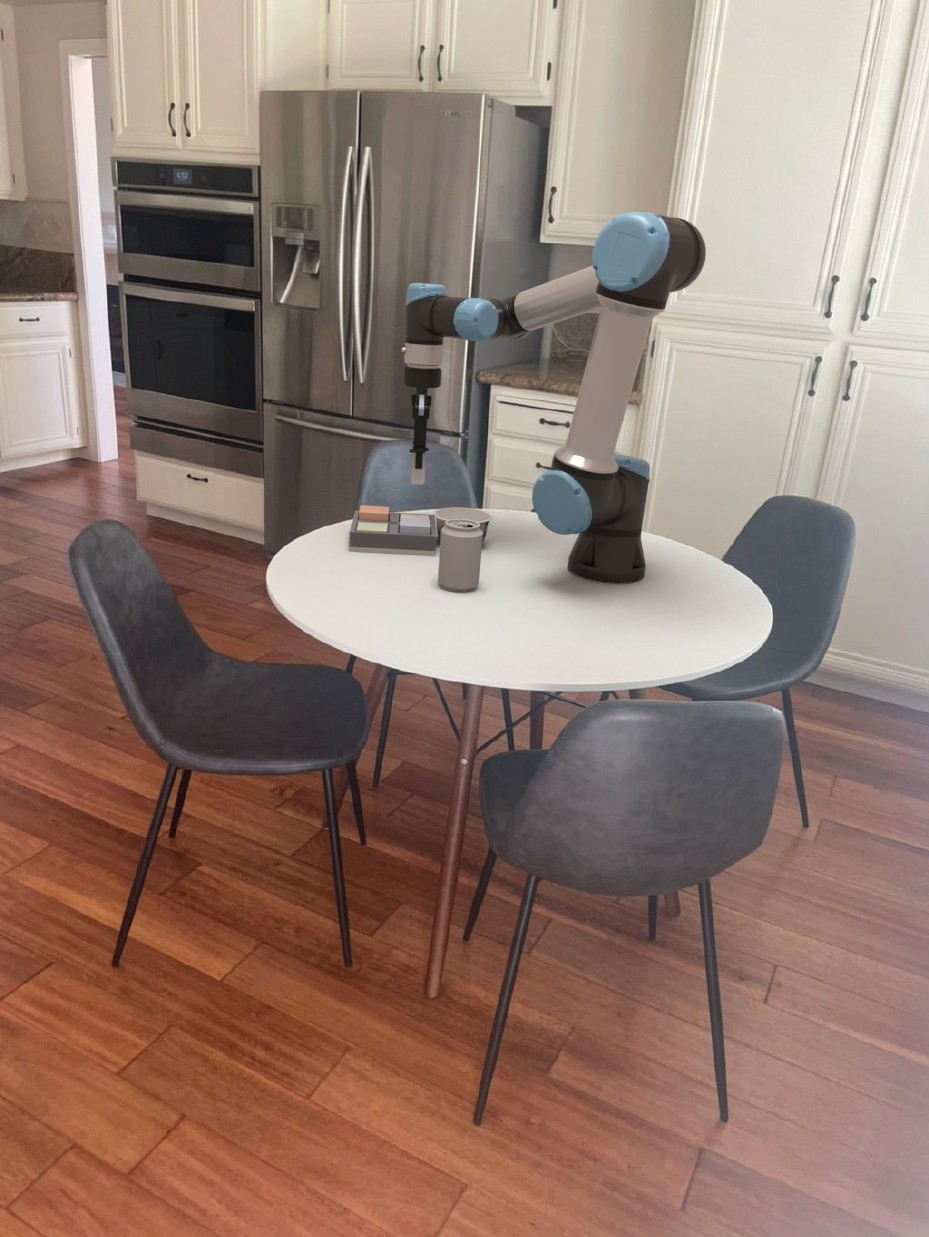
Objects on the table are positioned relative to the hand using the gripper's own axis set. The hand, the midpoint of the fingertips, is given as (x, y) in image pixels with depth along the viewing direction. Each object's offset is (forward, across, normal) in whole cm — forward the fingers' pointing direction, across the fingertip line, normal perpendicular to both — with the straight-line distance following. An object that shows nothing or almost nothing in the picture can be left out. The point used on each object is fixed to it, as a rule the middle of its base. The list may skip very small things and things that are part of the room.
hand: (417, 483), depth 194 cm
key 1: (+10, +8, -9) cm, 16 cm away
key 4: (+10, 0, 0) cm, 10 cm away
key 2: (+9, 0, -9) cm, 12 cm away
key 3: (+9, +8, 0) cm, 12 cm away
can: (+12, +30, +8) cm, 34 cm away
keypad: (+12, +4, -4) cm, 13 cm away
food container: (+12, +3, +10) cm, 16 cm away
